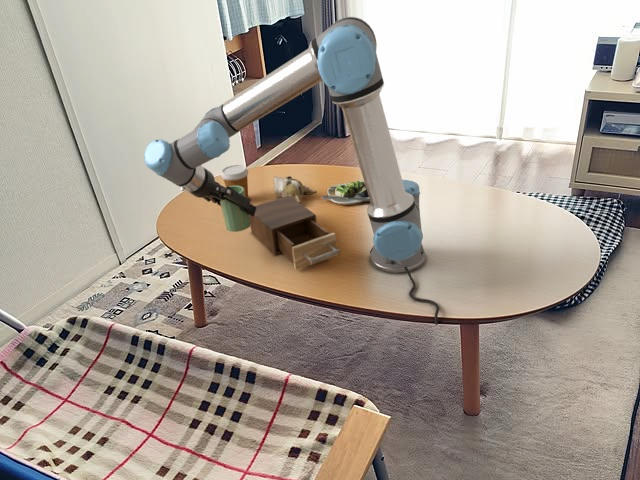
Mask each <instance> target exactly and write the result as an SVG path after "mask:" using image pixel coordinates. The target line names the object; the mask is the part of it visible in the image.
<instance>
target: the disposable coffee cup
mask: <svg viewBox="0 0 640 480" xmlns="http://www.w3.org/2000/svg"><path fill="white" fill-rule="evenodd" d="M248 174H249V169H248V168H247V167H246V166H245V165H243V164H232V165H228V166H226V167H223V168H222V169H221V174H220V176H221V178H222V179H223V182H224V185H225V186H224V187H227V186H242V187H243V188H244V192H245V197H246V198H248V199H249V184H248V183H249V182H248V181H249V180H248V176H249V175H248Z"/></svg>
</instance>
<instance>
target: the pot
mask: <svg viewBox="0 0 640 480" xmlns="http://www.w3.org/2000/svg"><path fill="white" fill-rule="evenodd" d="M224 187H225V188H226V186H224ZM229 187H231V188H232V189H233V190H235V191H236V192H238V193H240V194H241V195H243V196H245V192H244V188H243V187H242V186H229ZM220 196H221V195H220ZM220 204H221V206H220V208H221V213H222V217H223V223H224V226H225V229H226V230H227V231H228V232H232V233H237V232H242V231H245V230H247V229H248V228H250V227H251V226H250V219H249V214H248V213H246V212H244V211H241V210H240V207H238V206H236V205H234V204H232V203H230V202H228V201H226V200H220Z"/></svg>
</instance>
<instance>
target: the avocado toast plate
mask: <svg viewBox="0 0 640 480" xmlns="http://www.w3.org/2000/svg"><path fill="white" fill-rule="evenodd" d="M326 192H327V195H322V196H321V199H322V200H325V201H329V202H331V203H335V204H338V205H342V206H343V205H344V206H353V205H363V204H368V203H371V202H370V198H369V195H368V192H367V188H366V185H365V182H364V180H354V181H350V182H345V183H338V184H333V185H331V186H329V187H328V188H327V190H326Z"/></svg>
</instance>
